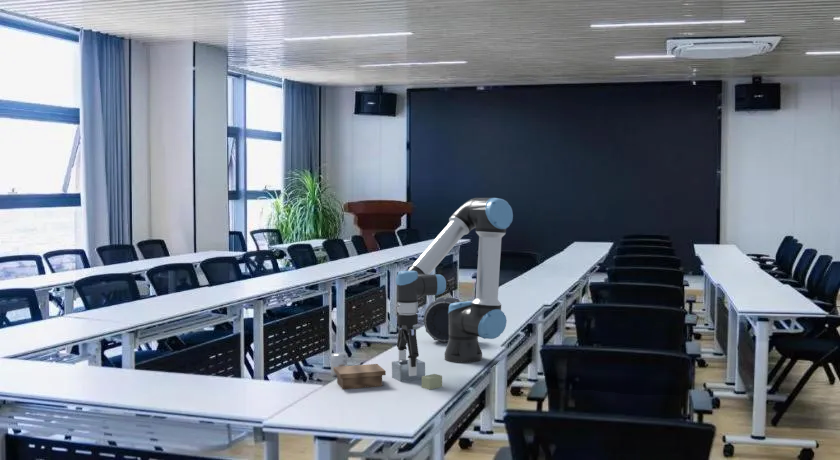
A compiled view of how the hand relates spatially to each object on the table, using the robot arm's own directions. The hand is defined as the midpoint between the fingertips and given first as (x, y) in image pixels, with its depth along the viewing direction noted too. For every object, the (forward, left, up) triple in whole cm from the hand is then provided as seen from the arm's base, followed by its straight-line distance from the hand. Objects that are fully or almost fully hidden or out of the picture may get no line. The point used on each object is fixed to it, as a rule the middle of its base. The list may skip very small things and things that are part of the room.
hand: (407, 371), depth 304 cm
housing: (0, 0, -3) cm, 3 cm away
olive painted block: (-4, +16, -2) cm, 17 cm away
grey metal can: (+23, -12, -2) cm, 26 cm away
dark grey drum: (-35, -60, -3) cm, 70 cm away
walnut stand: (+19, +4, -2) cm, 19 cm away
